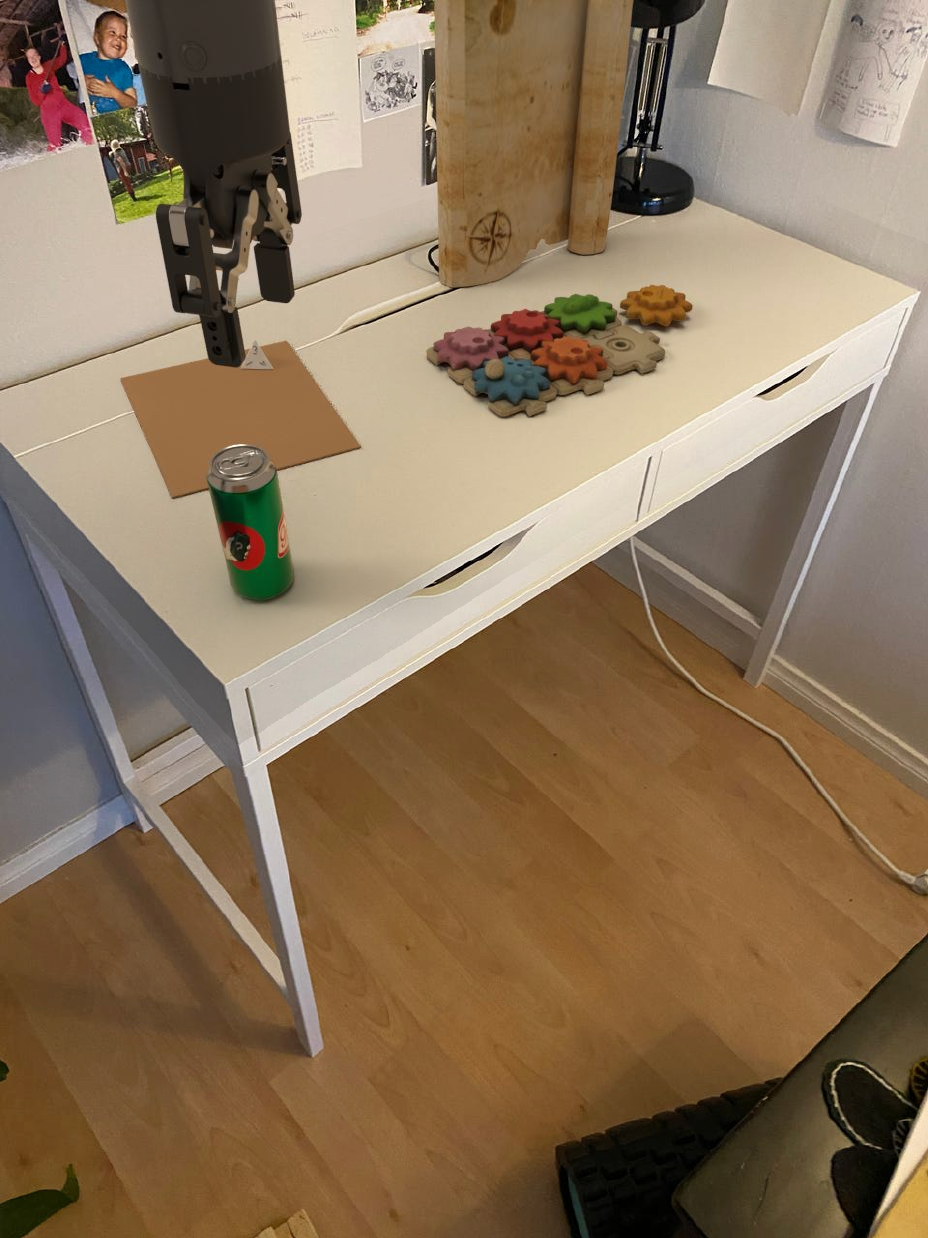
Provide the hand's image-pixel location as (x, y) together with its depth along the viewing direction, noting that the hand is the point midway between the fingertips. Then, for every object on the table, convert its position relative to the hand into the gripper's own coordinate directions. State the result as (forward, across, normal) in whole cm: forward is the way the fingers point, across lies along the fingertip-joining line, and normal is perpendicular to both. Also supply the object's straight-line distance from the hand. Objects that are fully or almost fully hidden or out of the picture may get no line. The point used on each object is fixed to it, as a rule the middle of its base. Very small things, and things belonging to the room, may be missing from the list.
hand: (254, 330), depth 62 cm
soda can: (+22, +1, -2) cm, 22 cm away
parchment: (+22, -61, +7) cm, 65 cm away
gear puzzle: (+22, -42, +17) cm, 50 cm away
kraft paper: (+22, -21, -14) cm, 34 cm away
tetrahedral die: (+22, -30, -15) cm, 40 cm away
